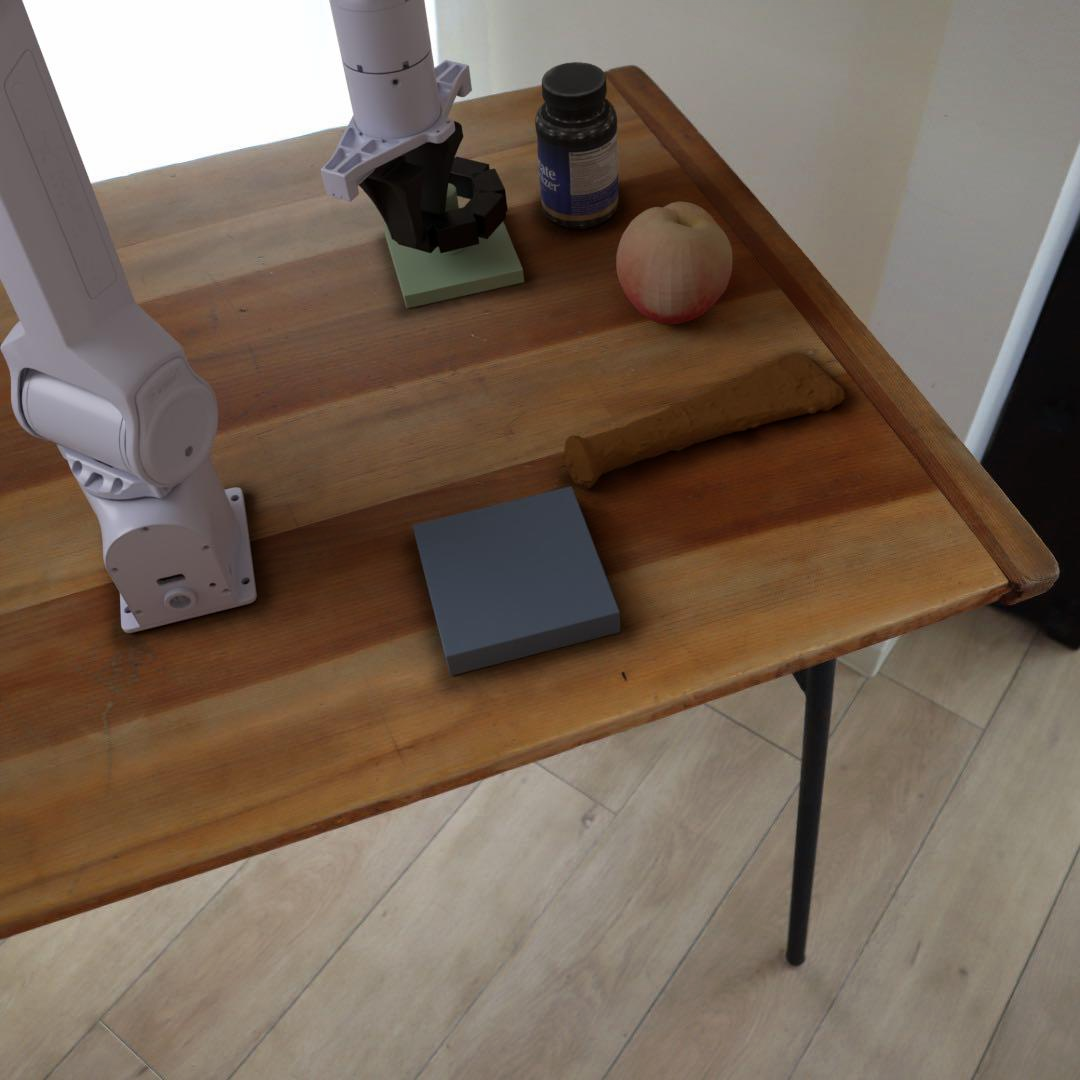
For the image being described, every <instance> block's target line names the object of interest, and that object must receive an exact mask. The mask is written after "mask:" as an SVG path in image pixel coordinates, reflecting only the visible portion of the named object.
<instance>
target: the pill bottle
mask: <svg viewBox="0 0 1080 1080" xmlns="http://www.w3.org/2000/svg"><path fill="white" fill-rule="evenodd" d="M607 86H608V85H607V76H606V73H605V72H604V70H603V69H602V68H601V67H599V66H597V65H595V64H592V63H589V62H581V61H572V62H565V63H561V64H558V65H555V66H552V67H551V68H550V69H548V70H546V72H545V73H544V74H543V76H542V78H541V96H542V99H543V101H544V102H543V103H542V104H541V105H540V107H539V108H538V110H537V111H536V115H535V117H534V126H535V136H536V137H535V138H536V139H535V140H536V150H537V162H538V176H539V188H540V202H541V203H540V204H541V209H542V212H543V214H544V215H545V217H547V219H548V220H549V221H551V222H552V223H554V224H556V225H559V226H562V227H564V228H568V229H587V228H590V227H596V226H598V225H600V224H603V223H605V222H606V221H608V220H609V219H610V218H612V217H613V215H614V214H615V212H616V211H617V210H618V206H619V201H620V200H619V156H618V155H619V153H618V152H619V151H618V147H619V146H618V116H617V111H616V109H615V106H614V105H613V103H612V102H611V101H610V100H609V99H608V98H606V96H607V92H608V87H607Z"/></svg>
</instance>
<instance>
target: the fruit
mask: <svg viewBox="0 0 1080 1080" xmlns="http://www.w3.org/2000/svg"><path fill="white" fill-rule="evenodd" d="M733 256H734V255H733V248H732V245H731V242H730V240H729V238H728V236H727V234H726V233H725V231H724V230H723V228H721V226H720V225H719V224H718V223H717V222H716V221H715V219H714V217H713V216H712V215H711V214H710V213H709V212H707V211H706V210H705V209H704V208H703V207H701V206H699V205H697V204H695V203H692V202H688V201H680V200H679V201H675V202H670V203H668V204H667V205H665V206H663V207H661V206H653V207H650V208H647V209H645V210H644V211H642V212H641V213H639V214H638V215H637V216H635V218H633V219H632V220H631V221H630V222H629V224H628V226H627V227H626V229H625V230H624V231H623V233H622V235H621V238H620V240H619V244H618V246H617V250H616V266H615V267H616V275H617V278H618V281H619V283H620V286H621V289H622V291H623V293H624V294H625V297H626V298H627V299H628V301H629V302H630V303H631V305H633V307H634V308H635V309H636V310H637V311H638V312H639V313H640V314H642V315H643V316H644V317H645V318H647V319H648V320H649V321H652V322H654V323H656V324H661V325H664V326H674V325H682V324H685V323H689V322H691V321H693V320H695V319H697V318H699V317H701V316H703V315H704V314H705V313H706V312H707V311H709V310H710V309H711V308H712V307H713V306H714V305H715V304H716V303H717V302H718V301H719V299H720V298H721V297H722V296H723V294H724V293H725V292H726V290H727V288H728V286H729V283H730V279H731V277H732V271H733Z"/></svg>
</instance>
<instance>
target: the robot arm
mask: <svg viewBox="0 0 1080 1080" xmlns="http://www.w3.org/2000/svg"><path fill="white" fill-rule="evenodd" d="M328 2H329V6H330V12H331V15H332V20H333V25H334V29H335V34H336V38H337V43H338V48H339V53H340V58H341V62H342V63H341V64H342V67H343V73H344V77H345V82H346V87H347V91H348V95H349V100H350V105H351V109H352V110H351V111H352V114H353V115H352V117H351V119H350V121H349V123H348V125H347V126H346V128H345V130H344V132H343V134H342V136H341V138H340V140H339V142H338V144H337V146H336V148H335V150H334V152H333V154H332V155H331V157H330V159H329V160H328V161H327V162H326V163H325V164H324V165H323V166H322V167H321V168H320V173H321V178H322V181H323V185H324V189H325V193H326V195H327V196H329V197H334V198H336V199H339V200H342V201H346V202H350V203H352V202H353V201H354V200H355V199H356V198H357V197H358V196H359V195H360V191H359V187H360V189H361V190H362V191H363V192H364V193H365V194H366V196H368V198H369V199H370V200H371V202H372V204H373V205H374V206H375V207H376V209H377V211H378V212H379V214H380V216H381V218H382V219H383V221H384V223H385V226H387V227H388V229H389V231H390V233H391V235H392V237H393V239H394V241H395V242H398V243H401V244H404V245H407V246H411V247H414V248H418V247H419V246H420V245H421V244H422V241H423V222H422V213H421V210H423V211H427V212H431V213H435V214H438V213H442V212H445V207H446V198H447V190H448V183H449V177H450V173H451V168H452V165H453V161H454V158H455V157H456V156H457V153H458V150H459V147H460V145H461V144H462V141H463V139H464V131H463V126H462V123H460V122H458V121H456V120H453V119H452V118H450V117H449V114H450V112H451V110H452V108H453V105H454V103H455V100H456V98H457V97H459V98H465V97H467V96H468V95H469V94H470V93H471V92H472V91H473V87H472V79H471V72H470V65H468V64H465V63H461V62H456V61H453V60H449V59H445V60H443V61H441V62H440V64H438V65H436V66H435V61H434V56H433V49H432V43H431V36H430V35H431V33H430V29H429V22H428V16H427V7H426V2H425V0H328ZM358 186H359V187H358ZM0 282H1V284H2V286H3V287H4V290H5V292H6V294H7V296H8V298H9V300H10V303H11V305H12V307H13V309H14V311H15V313H16V316H17V318H18V319H19V320H18V322H17V323H16V324H15V325H14V326H13V327H12V328H11V330H10V331H9V333H8V334H7V336H6V337H5V338H4V339H3V341H2V343H1V345H0V352H1V354H2V356H3V357H4V360H5V362H6V364H7V367H8V370H9V376H10V400H11V401H10V402H11V407H12V411H13V414H14V417H15V419H16V421H17V423H18V424H19V425H20V426H21V427H22V429H23V430H24V431H26V432H27V433H28V434H29V435H31V436H33V437H35V438H37V439H40V440H43V441H46V442H53V443H55V445H56V447H57V449H58V450H59V452H60V454H61V456H62V458H63V459H64V460H66V461H67V464H68V466H69V468H70V470H71V473H72V474H73V476H74V478H75V480H76V482H77V483H78V485H79V487H80V489H81V490H82V492H83V494H84V496H85V497H86V499H87V502H88V503H89V505H90V506H91V508H92V510H93V512H94V514H95V516H96V518H97V519H98V523H99V526H100V531H101V540H102V556H103V564H104V566H105V569H106V571H107V573H108V575H109V576H110V578H111V580H112V582H113V583H114V585H115V587H116V588H117V590H118V592H119V605H120V606H119V607H120V608H119V609H120V626H121V629H122V630H123V632H124V633H126V634H132V633H136V632H141V631H145V630H148V629H153V628H157V627H161V626H164V625H169V624H172V623H177V622H180V621H185V620H190V619H193V618H197V617H202V616H206V615H209V614H213V613H217V612H221V611H226V610H230V609H233V608H237V607H241V606H245V605H249V604H253V602H255V601H256V599H257V597H258V593H257V587H256V579H255V572H254V564H253V556H252V547H251V539H250V533H249V525H248V517H247V511H246V501H245V495H244V492H243V490H242V488H240V487H239V486H236V487H229V488H226V489H225V488H224V485H223V483H222V481H221V478H220V475H219V473H218V470H217V469H216V466H215V464H214V462H213V459H212V457H211V455H210V452H211V450H212V448H213V447H214V443H215V441H216V436H217V433H218V426H219V409H218V408H219V407H218V402H217V398H216V394H215V392H214V390H213V388H212V386H211V385H210V384H209V383H208V382H207V381H206V380H205V379H204V378H202V377H201V376H200V375H198V374H197V373H196V372H195V371H194V369H193V368H192V366H191V365H190V363H189V360H188V358H187V356H186V352H185V349H184V347H183V346H182V345H181V344H180V343H179V342H178V340H176V338H174V337H173V336H172V335H171V334H170V333H169V332H168V331H167V330H165V329H164V328H163V327H162V326H161V325H160V324H159V323H158V322H157V321H156V320H154V319H153V317H151V316H150V314H148V313H147V312H146V311H145V310H144V309H143V308H142V307H141V306H140V305H139V304H138V303H137V302H136V300H135V298H134V297H135V296H134V295H133V292H132V289H131V286H130V285H129V281H128V279H127V275H126V273H125V270H124V268H123V266H122V263H121V260H120V257H119V255H118V252H117V249H116V246H115V244H114V241H113V238H112V236H111V233H110V231H109V228H108V225H107V223H106V220H105V217H104V214H103V211H102V209H101V207H100V204H99V201H98V199H97V196H96V193H95V191H94V187H93V185H92V183H91V179H90V177H89V174H88V172H87V169H86V166H85V163H84V161H83V158H82V156H81V153H80V151H79V148H78V145H77V143H76V140H75V137H74V134H73V132H72V130H71V126H70V124H69V121H68V119H67V115H66V113H65V111H64V108H63V104H62V102H61V99H60V97H59V95H58V92H57V89H56V86H55V83H54V81H53V78H52V76H51V73H50V71H49V67H48V65H47V62H46V59H45V57H44V55H43V51H42V49H41V46H40V44H39V41H38V38H37V36H36V33H35V30H34V28H33V24H32V22H31V20H30V17H29V14H28V12H27V9H26V7H25V4H24V1H23V0H0Z"/></svg>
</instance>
